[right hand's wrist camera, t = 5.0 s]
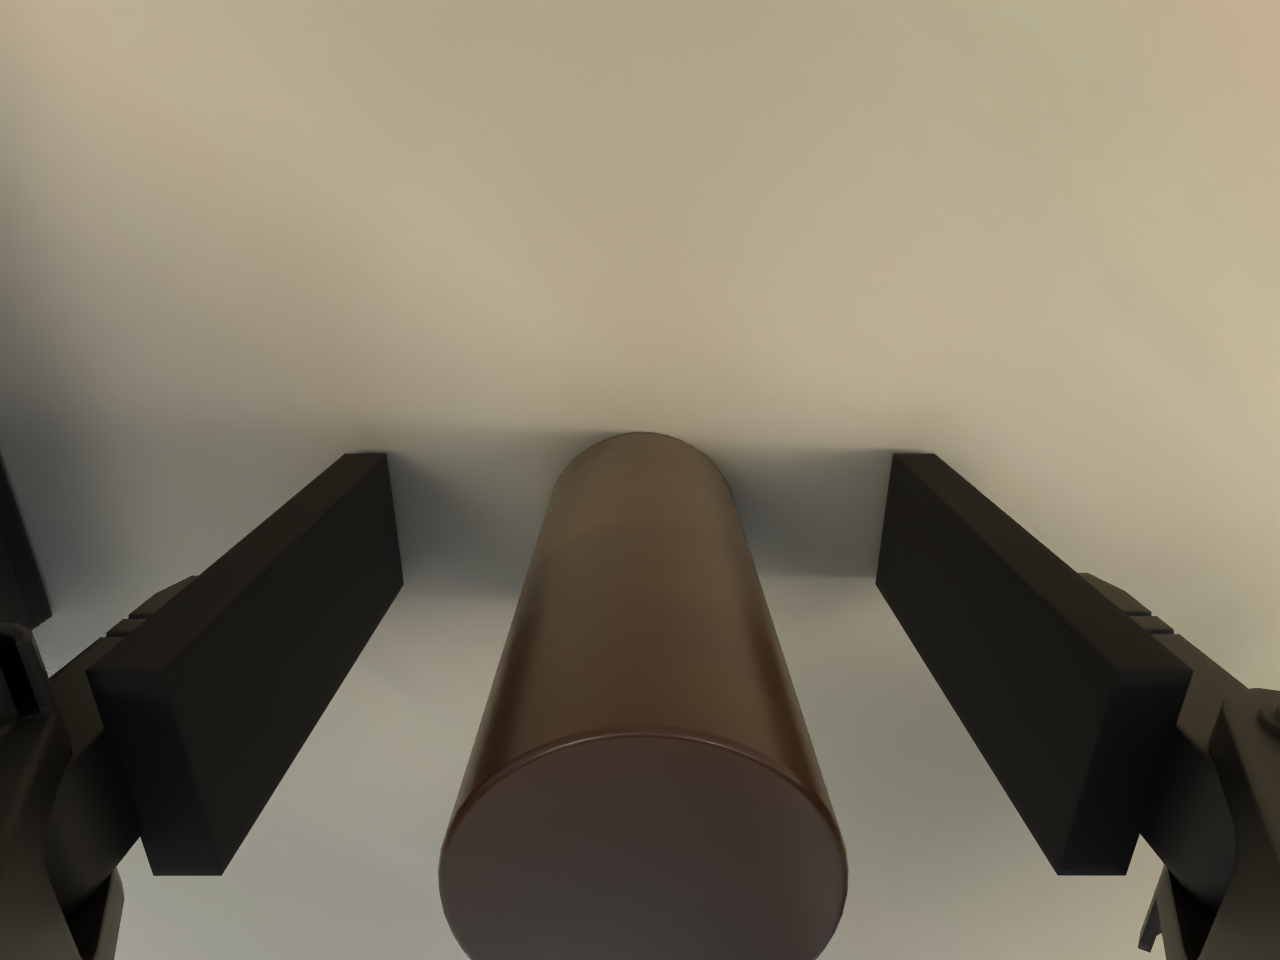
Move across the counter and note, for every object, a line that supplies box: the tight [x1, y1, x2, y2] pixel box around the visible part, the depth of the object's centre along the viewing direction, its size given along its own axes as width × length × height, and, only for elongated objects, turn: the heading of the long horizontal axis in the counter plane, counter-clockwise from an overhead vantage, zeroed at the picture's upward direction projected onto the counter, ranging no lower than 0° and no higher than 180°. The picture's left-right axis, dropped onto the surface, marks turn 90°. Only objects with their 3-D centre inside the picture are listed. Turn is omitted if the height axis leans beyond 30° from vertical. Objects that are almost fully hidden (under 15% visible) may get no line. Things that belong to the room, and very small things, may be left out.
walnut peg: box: [438, 433, 849, 960], centre depth 10 cm, size 4×4×8 cm
